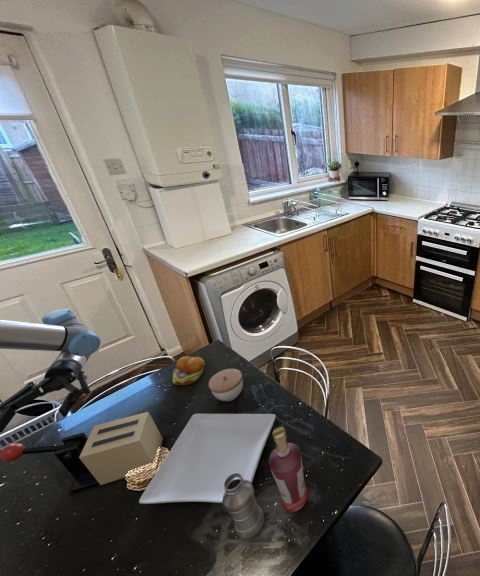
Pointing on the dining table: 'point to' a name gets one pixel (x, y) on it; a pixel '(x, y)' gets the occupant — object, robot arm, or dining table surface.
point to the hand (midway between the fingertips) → (30, 421)
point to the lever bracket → (76, 463)
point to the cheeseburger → (188, 370)
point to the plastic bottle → (242, 506)
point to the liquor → (288, 472)
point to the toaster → (121, 447)
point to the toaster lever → (32, 450)
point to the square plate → (209, 457)
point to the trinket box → (226, 384)
